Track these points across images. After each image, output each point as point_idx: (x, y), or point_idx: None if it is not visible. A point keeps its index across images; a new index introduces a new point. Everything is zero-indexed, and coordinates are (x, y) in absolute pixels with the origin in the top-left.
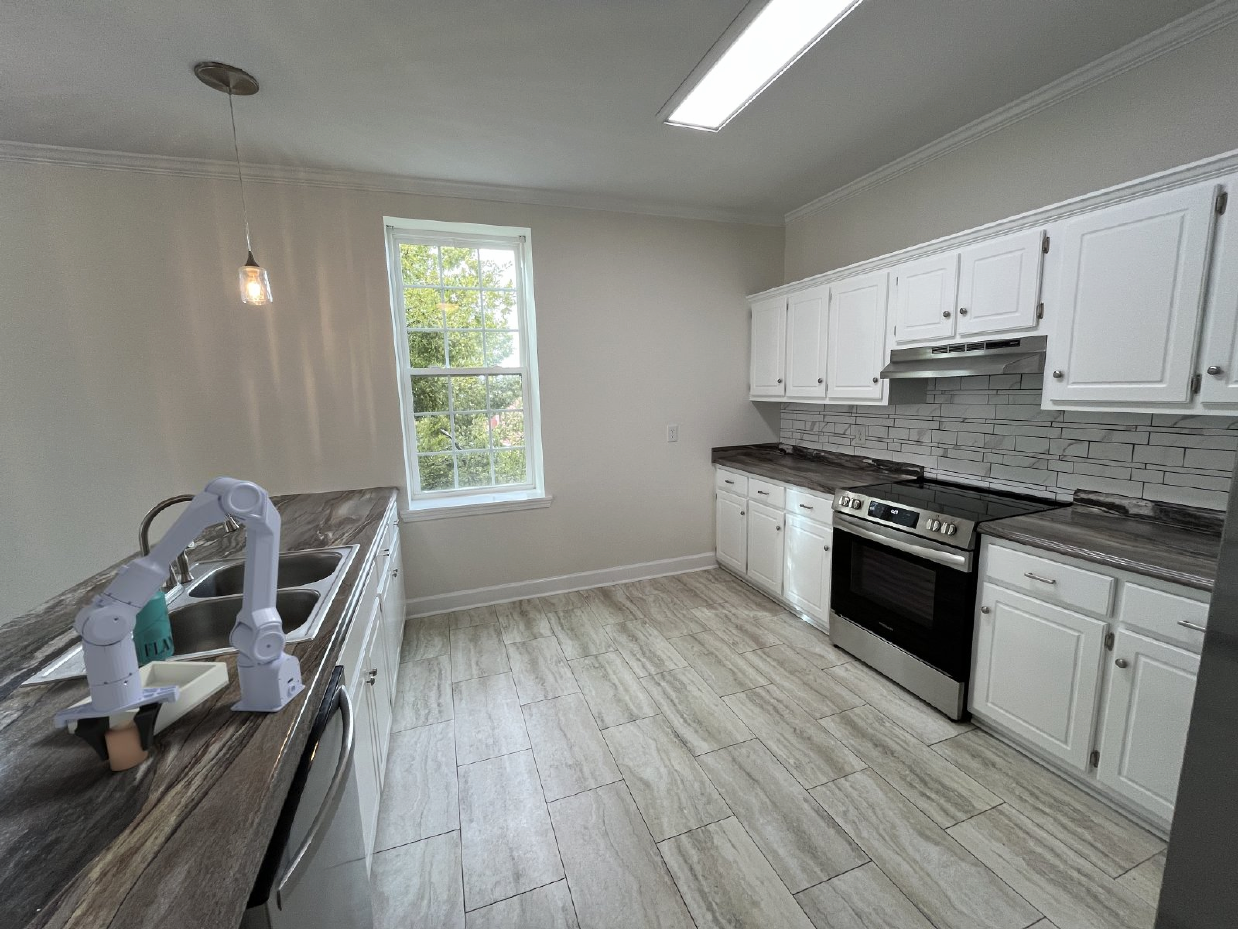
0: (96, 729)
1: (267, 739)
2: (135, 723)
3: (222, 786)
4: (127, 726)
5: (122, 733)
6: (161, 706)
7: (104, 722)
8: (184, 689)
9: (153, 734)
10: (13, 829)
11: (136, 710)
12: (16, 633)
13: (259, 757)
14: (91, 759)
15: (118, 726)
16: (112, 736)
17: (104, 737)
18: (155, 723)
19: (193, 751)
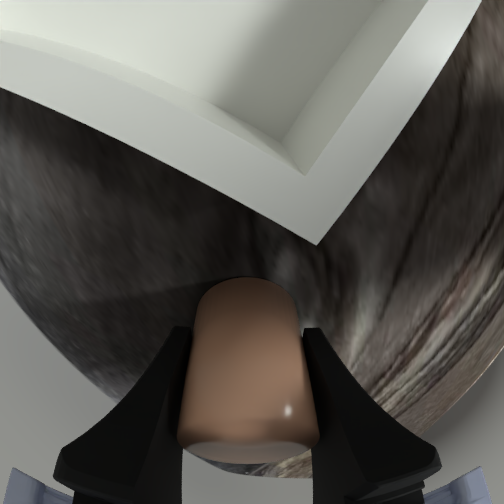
0: (177, 498)
1: (496, 337)
2: (313, 494)
3: (410, 414)
4: (261, 443)
5: (258, 460)
6: (373, 157)
7: (164, 475)
8: (474, 10)
9: (332, 348)
10: (118, 402)
11: (192, 157)
12: None
13: (466, 375)
14: (101, 242)
15: (216, 435)
16: (227, 462)
17: (175, 423)
18: (357, 384)
19: (403, 334)
